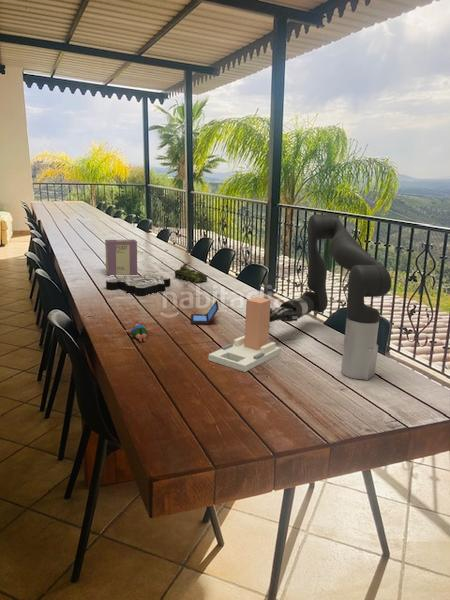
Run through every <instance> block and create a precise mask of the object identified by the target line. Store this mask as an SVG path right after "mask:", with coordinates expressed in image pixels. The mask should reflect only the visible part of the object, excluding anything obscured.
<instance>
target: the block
mask: <svg viewBox="0 0 450 600" xmlns="http://www.w3.org/2000/svg"><path fill="white" fill-rule="evenodd" d="M271 304H272V302H271V299H268V298H263V297H258V296H255V297H252V298H249V299H246V305H245V306H246V307H245V325H244V335H245V340H244V347H247V348H251V349H254V350H260V347H262V346H264V345H266V344H268V343H269V332H270V330H269V329H270V322H269V319H270V308H271Z"/></svg>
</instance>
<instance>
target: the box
mask: <svg viewBox="0 0 450 600" xmlns="http://www.w3.org/2000/svg"><path fill="white" fill-rule="evenodd" d="M104 244H105V274H106V273H107V274H106V276H107V275H108V276H110V275H137V276H138V241H137V240H136V239H105V242H104ZM108 276H107V277H108Z"/></svg>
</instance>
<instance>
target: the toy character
mask: <svg viewBox="0 0 450 600" xmlns="http://www.w3.org/2000/svg"><path fill="white" fill-rule="evenodd" d="M155 330H156V329H155V328H146V327H145V326H144V325H143V324H140V323H139V322H138V321H135V322H134V324H133V328H132V329H126V330H122V331H120V333H121V334H124V333H132V335H133V338H135V339H137V340H139V342H140V343H141V342H146V341H147V340H146V339H147V337H148V332H149V331H153V332H154V331H155Z"/></svg>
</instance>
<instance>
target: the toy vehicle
mask: <svg viewBox="0 0 450 600" xmlns="http://www.w3.org/2000/svg"><path fill="white" fill-rule="evenodd" d="M188 264H190V262H187V263H185V264H183V265H182V266H180V268H179V269H175V270H174V277H175V278H176V279H177V278H178V279H177V280H181V279H182V280H181V281H186V282H188V281H190V282H189V283H192V282H193V283H201V282H207V281H208V274H207V275H206V274H204V273H203V272H201V271H200V272H199V271H197V270H195V269H190V268H188V267H187V265H188Z"/></svg>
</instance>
